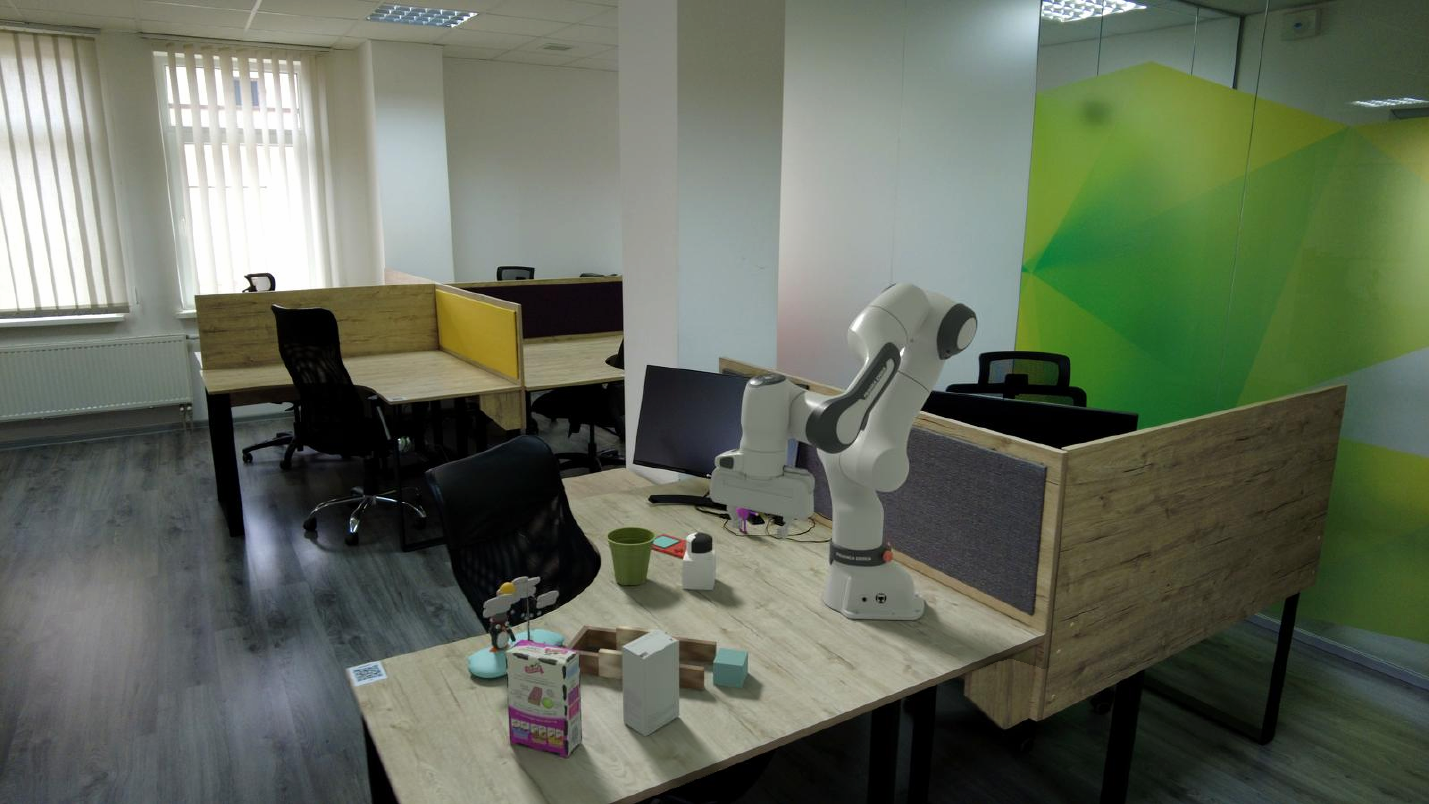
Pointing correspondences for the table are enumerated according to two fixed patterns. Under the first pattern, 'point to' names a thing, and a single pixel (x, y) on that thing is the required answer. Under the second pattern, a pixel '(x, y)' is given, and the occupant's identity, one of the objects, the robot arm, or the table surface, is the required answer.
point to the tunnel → (605, 645)
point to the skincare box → (650, 681)
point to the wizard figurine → (744, 516)
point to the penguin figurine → (495, 657)
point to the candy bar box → (544, 697)
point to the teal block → (730, 667)
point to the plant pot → (631, 553)
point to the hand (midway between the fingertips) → (759, 532)
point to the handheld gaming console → (670, 545)
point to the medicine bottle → (699, 563)
